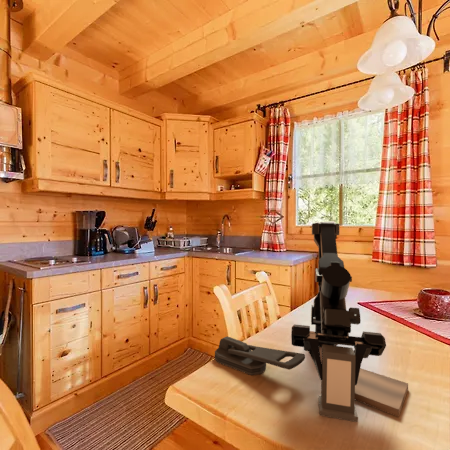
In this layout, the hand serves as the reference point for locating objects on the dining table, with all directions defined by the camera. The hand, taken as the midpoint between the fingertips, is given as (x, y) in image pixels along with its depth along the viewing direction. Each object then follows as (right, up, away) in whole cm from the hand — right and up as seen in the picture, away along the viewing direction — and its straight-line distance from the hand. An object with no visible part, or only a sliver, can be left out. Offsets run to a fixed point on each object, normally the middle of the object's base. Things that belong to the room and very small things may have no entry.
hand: (338, 382), depth 57 cm
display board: (+11, -7, +8) cm, 15 cm away
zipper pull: (-15, -6, +18) cm, 24 cm away
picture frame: (0, -7, +1) cm, 7 cm away
